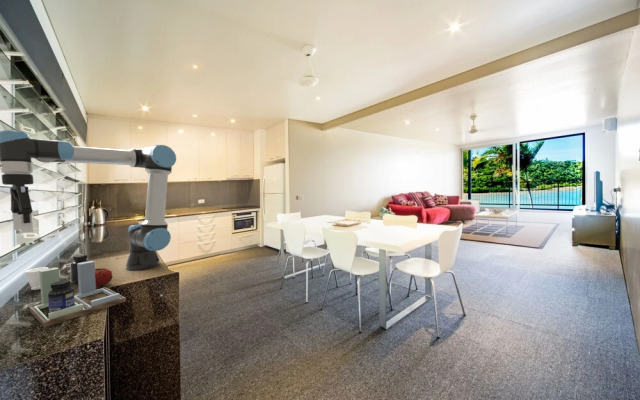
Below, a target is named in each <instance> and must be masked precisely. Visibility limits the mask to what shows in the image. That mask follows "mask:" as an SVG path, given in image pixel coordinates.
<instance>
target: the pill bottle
mask: <svg viewBox="0 0 640 400" xmlns="http://www.w3.org/2000/svg"><path fill="white" fill-rule="evenodd" d="M70 285H72V283H71V279H63V280H60V281H57V282H54V283H51V288H52V290H51V291H50V292H49V293H48V302H49V307H48V313H51V312H55V311H58V310H62V309H65V308H68V307H72V306H75V301H74V296H75V289H74V287H72V286H70Z"/></svg>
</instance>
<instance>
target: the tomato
mask: <svg viewBox="0 0 640 400" xmlns="http://www.w3.org/2000/svg"><path fill="white" fill-rule="evenodd" d="M112 279H113V273H112V271H111V270H110V269H108V268H105V267H101V268H100V267H99V268H95V282H96V288H100V287H102V288H103V287H105V286H106V285H108V284H109V283H110V282H112Z"/></svg>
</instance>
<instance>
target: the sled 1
mask: <svg viewBox="0 0 640 400" xmlns="http://www.w3.org/2000/svg"><path fill="white" fill-rule="evenodd" d="M39 273H40V288H41V289H40V299H41V300H40V301H41V303H40V304H37V305H35V306H33V308H34V309H35V310H36V311H37V312H38V313H39V314H40V315H41V316H42V317H43V318H44V319H45V320H46V321H48V320H51V319H55V318H58V317H61V316H64V315H68V314H71V313H74V312H78V311H81V310H84V309H85V308H83V304H78V303H76V302H75V306H72V307H68V308H65V309H62V310H58V311H55V312H51V313H49V312H48V313H47V314H48V315H47V316H48V317H47V316H46V315H45V314H44V313H43V311H41V310H42V309H45V308H49V302H48V293H49V292H50V291H51V290H52V288H51V283H54V282H57V281H61V280H60V270H59V267H52V268H48V269H45V270H40V271H39Z"/></svg>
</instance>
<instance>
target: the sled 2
mask: <svg viewBox="0 0 640 400" xmlns="http://www.w3.org/2000/svg"><path fill="white" fill-rule="evenodd" d="M77 268H78V283H77V284H78V294H76V295H75V294H74V298H76V299H77V300H78V301H80V302H81V303H83V304H84V305H86V306H87V307H89V308H91V307H94V306H97V305H100V304H104V303H107V302H110V301H114V300H117V299H120V295H121V294H120V293H117V292H116V293H117V294H113V293H111V292H109V291H107V290H105V289H103V287H102V288H98V289H97V287H96V282H95V269H96V267H95V261H93V260H89V261H88V262H82V263H77ZM100 293H103V294H105V295H107V296H103V297H100V298H97V299H93V300H90V304H88V303H87V302H85V301H84V300H82V298H85V297H89V296H92V295H96V294H100ZM119 294H120V295H119Z"/></svg>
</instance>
